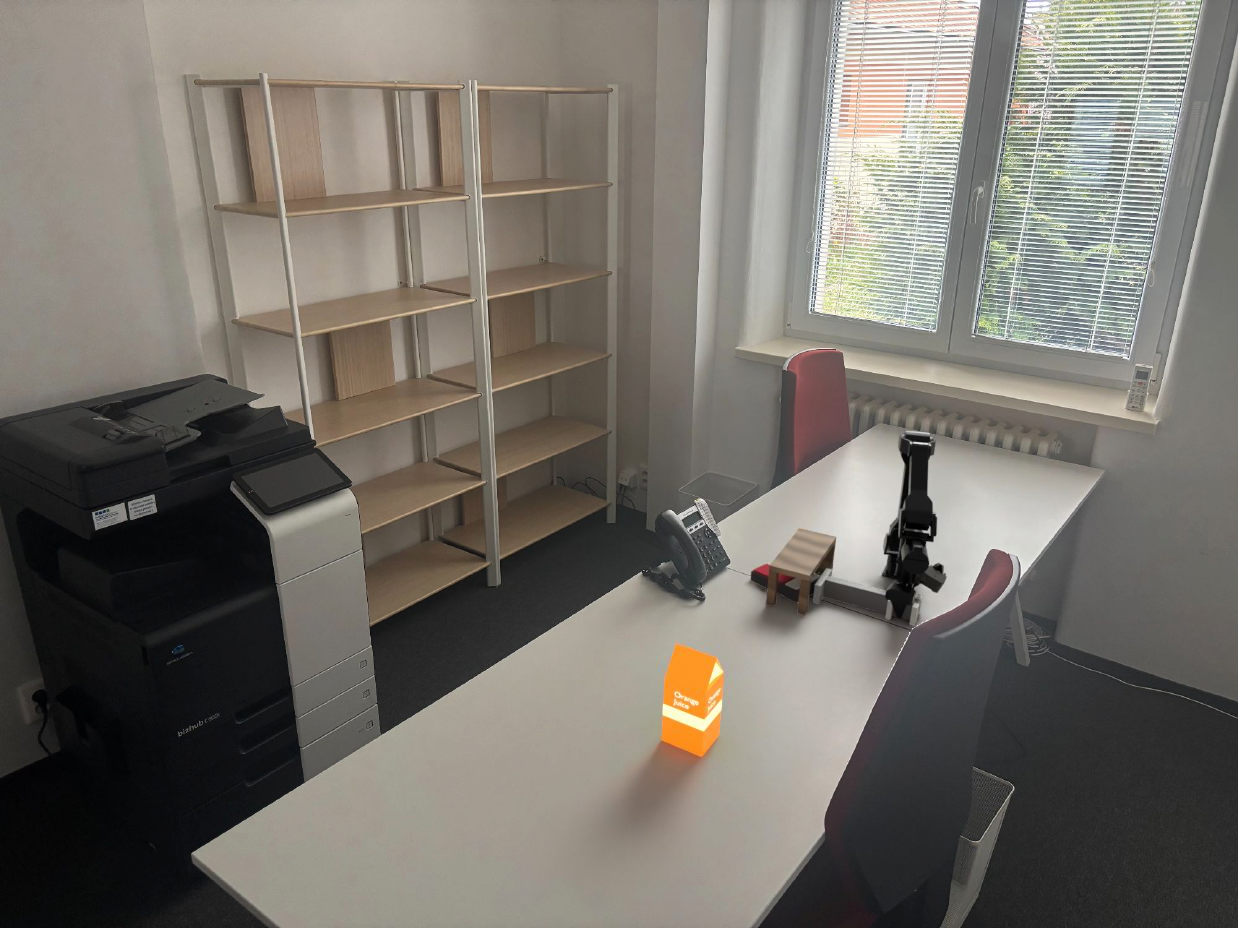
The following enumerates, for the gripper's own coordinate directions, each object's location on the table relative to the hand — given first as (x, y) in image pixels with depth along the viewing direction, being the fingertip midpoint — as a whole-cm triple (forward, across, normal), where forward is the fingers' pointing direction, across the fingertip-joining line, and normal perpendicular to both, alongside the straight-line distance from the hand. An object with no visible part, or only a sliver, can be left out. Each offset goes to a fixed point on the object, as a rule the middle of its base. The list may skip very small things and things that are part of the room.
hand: (901, 611), depth 212 cm
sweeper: (+1, 0, +8) cm, 8 cm away
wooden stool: (+1, 0, +26) cm, 26 cm away
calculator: (+2, 0, +29) cm, 29 cm away
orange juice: (+2, -67, +26) cm, 72 cm away
